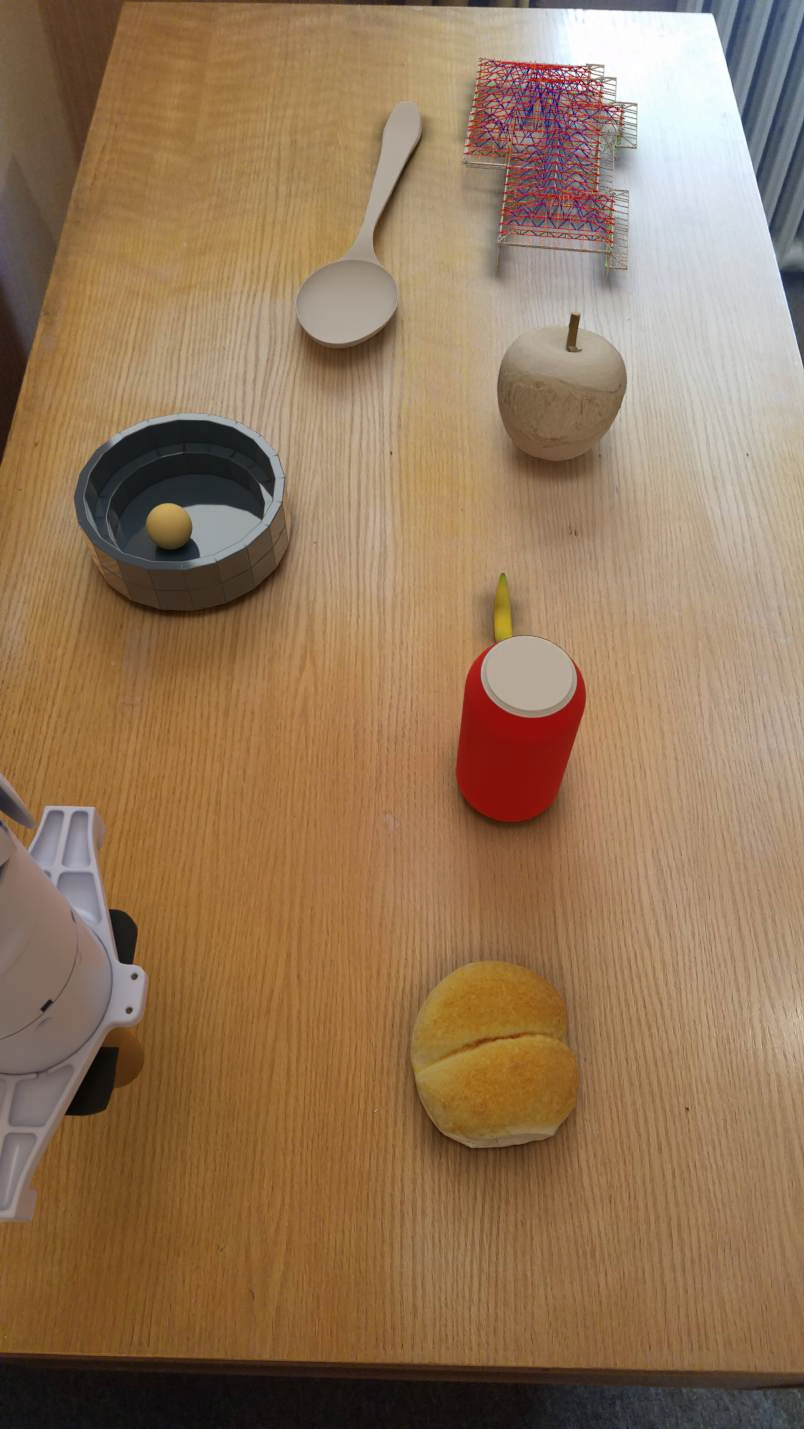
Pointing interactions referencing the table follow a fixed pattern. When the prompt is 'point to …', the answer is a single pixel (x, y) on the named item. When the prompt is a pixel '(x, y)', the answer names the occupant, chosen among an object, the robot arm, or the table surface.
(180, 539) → the ball
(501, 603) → the fruit
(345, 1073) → the table surface
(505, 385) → the decorative object
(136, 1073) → the brown wooden dowel
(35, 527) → the table surface
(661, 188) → the table surface
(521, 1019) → the bread roll
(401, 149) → the spoon
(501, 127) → the roof frame
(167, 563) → the bowl
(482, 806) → the beverage can
